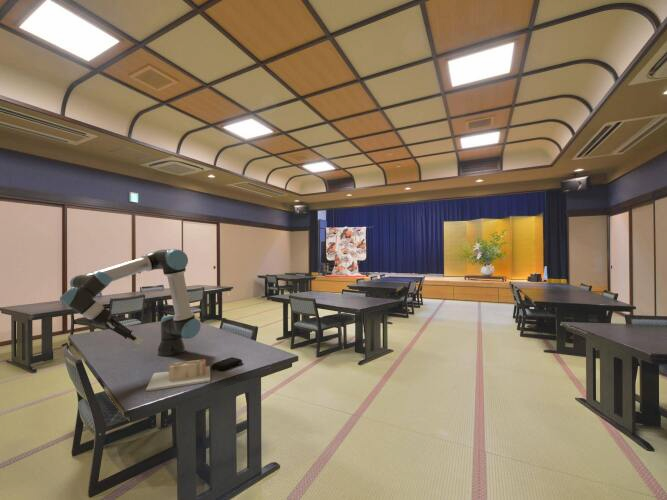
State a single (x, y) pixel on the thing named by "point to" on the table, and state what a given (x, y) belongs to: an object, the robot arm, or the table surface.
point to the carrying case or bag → (226, 364)
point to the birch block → (187, 369)
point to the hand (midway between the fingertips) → (140, 342)
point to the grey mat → (175, 380)
